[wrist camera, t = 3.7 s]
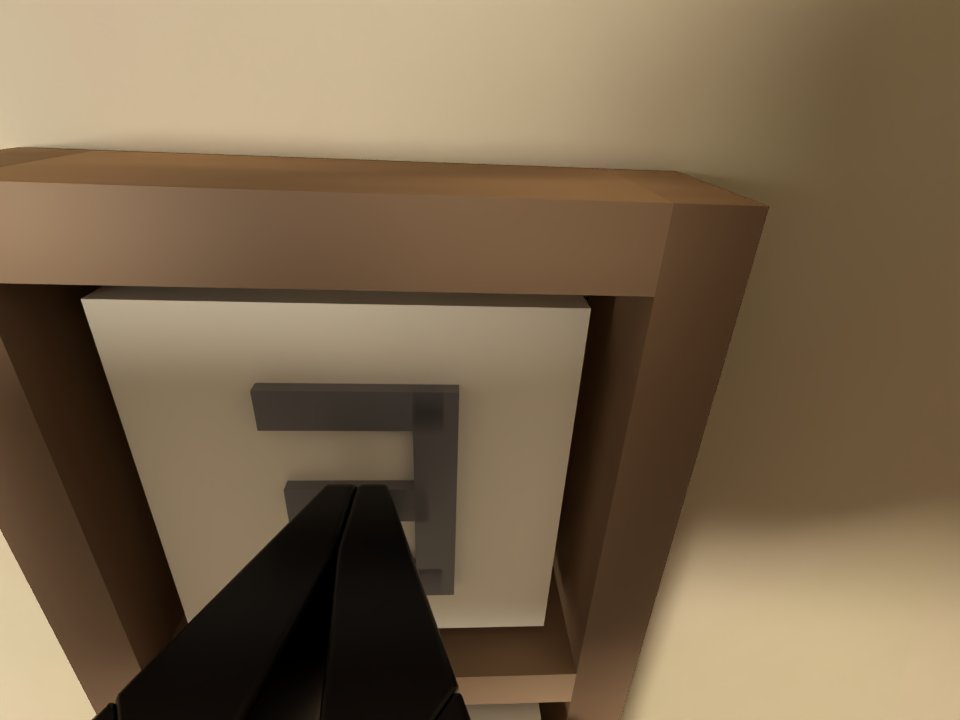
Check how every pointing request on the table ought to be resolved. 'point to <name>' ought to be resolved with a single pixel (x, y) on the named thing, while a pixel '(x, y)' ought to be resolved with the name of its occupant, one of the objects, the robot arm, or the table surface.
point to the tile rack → (366, 267)
